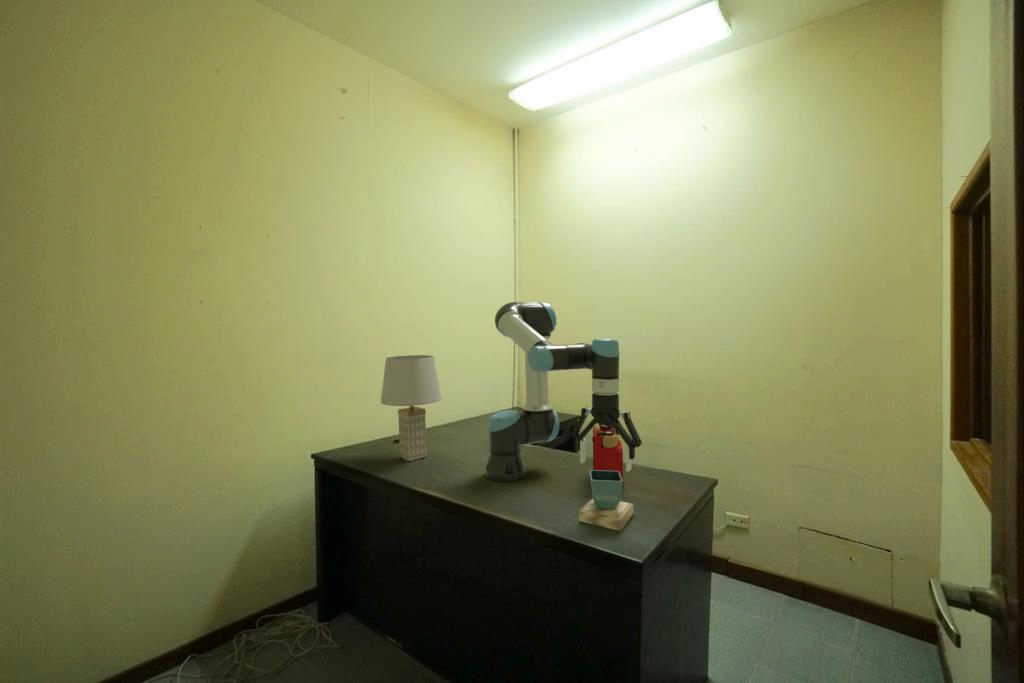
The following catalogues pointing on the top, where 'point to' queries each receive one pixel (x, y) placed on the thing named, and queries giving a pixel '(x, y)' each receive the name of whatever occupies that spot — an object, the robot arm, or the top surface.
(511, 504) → the top surface
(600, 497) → the flower pot
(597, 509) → the oak stand
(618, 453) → the red mechanical box
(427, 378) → the lamp
